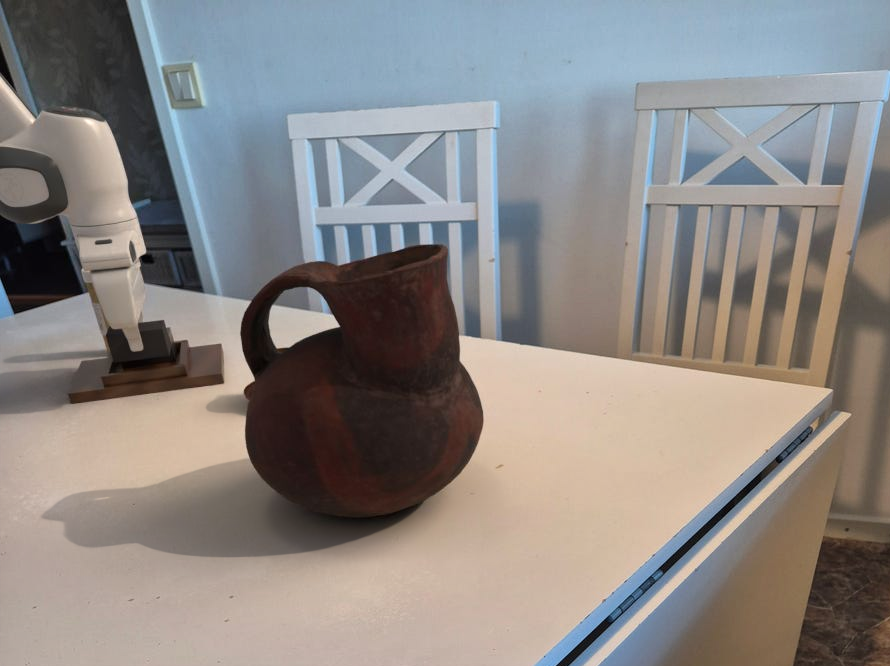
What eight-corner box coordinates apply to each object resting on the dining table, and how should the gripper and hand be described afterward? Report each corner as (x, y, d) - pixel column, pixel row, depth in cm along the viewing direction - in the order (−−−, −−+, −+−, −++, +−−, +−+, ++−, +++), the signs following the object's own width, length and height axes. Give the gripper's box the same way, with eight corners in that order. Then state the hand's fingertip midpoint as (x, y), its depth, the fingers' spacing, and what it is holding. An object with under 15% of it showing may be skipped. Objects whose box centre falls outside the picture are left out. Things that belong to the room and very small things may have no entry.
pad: (113, 363, 123) (105, 335, 121) (117, 353, 127) (108, 326, 125) (169, 356, 125) (162, 328, 122) (171, 346, 129) (164, 319, 126)
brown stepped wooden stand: (70, 403, 122) (57, 366, 119) (84, 370, 135) (72, 335, 132) (224, 383, 126) (215, 346, 123) (223, 352, 139) (215, 318, 135)
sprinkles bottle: (134, 353, 141) (108, 268, 133) (105, 357, 140) (78, 271, 132) (135, 346, 144) (111, 262, 136) (108, 349, 143) (81, 265, 135)
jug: (345, 435, 107) (312, 220, 92) (523, 465, 97) (517, 228, 82) (211, 522, 90) (143, 274, 75) (411, 569, 79) (378, 293, 65)
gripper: (95, 232, 124) (123, 327, 133) (77, 260, 108) (110, 367, 116) (139, 227, 126) (164, 322, 134) (128, 255, 109) (157, 361, 118)
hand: (139, 343), depth 125 cm, fingers closed on pad, 5 cm apart
